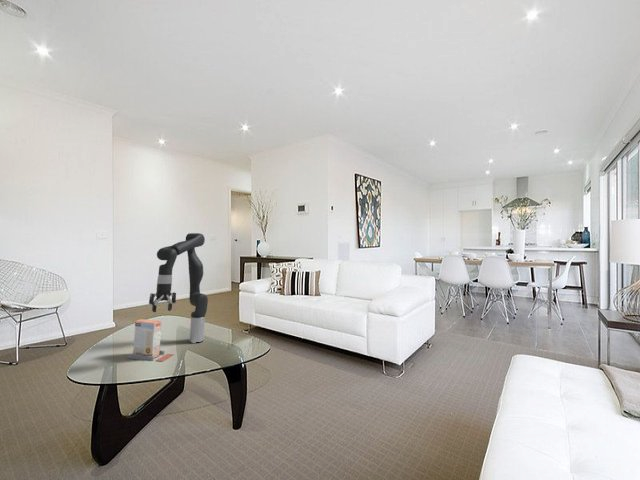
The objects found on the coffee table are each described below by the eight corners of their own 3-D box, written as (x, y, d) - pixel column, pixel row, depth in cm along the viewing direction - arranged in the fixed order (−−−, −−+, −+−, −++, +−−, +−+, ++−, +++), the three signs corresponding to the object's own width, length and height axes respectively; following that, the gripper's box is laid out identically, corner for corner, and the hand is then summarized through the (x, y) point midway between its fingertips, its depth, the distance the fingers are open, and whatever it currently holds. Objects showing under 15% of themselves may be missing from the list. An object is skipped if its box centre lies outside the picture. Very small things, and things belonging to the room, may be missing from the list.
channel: (140, 351, 184) (140, 348, 184) (164, 354, 183) (164, 350, 183) (127, 357, 174) (127, 354, 174) (152, 360, 172) (153, 357, 172)
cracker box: (159, 356, 179) (162, 321, 180) (151, 359, 173) (154, 323, 174) (141, 352, 183) (143, 318, 183) (132, 356, 177) (134, 320, 178)
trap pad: (167, 354, 183) (167, 353, 183) (173, 354, 182) (173, 354, 182) (155, 361, 172) (155, 360, 172) (162, 361, 171) (162, 361, 171)
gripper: (172, 282, 181) (170, 309, 180) (148, 282, 170) (145, 311, 168) (179, 283, 177) (177, 311, 176) (155, 283, 166) (152, 313, 164)
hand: (161, 311), depth 172 cm, fingers open, 8 cm apart
